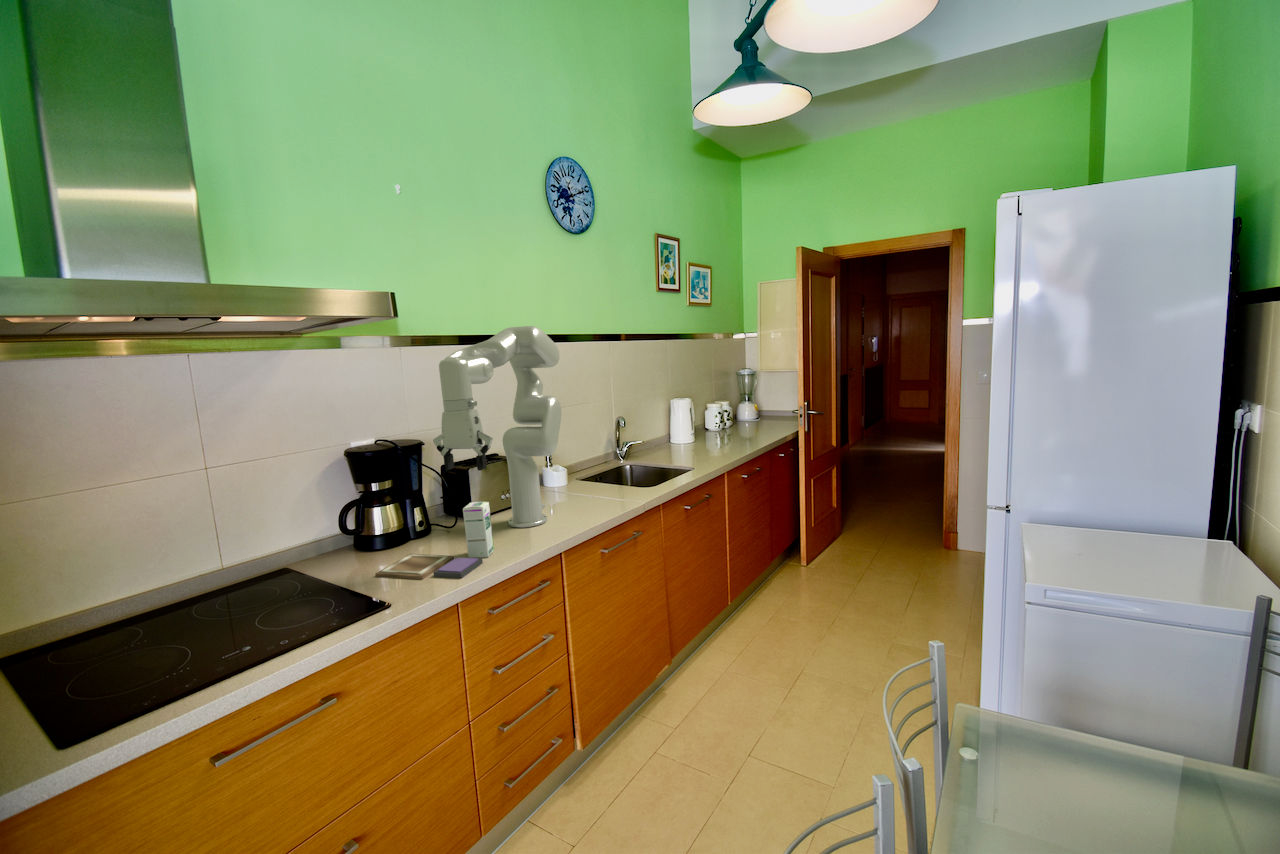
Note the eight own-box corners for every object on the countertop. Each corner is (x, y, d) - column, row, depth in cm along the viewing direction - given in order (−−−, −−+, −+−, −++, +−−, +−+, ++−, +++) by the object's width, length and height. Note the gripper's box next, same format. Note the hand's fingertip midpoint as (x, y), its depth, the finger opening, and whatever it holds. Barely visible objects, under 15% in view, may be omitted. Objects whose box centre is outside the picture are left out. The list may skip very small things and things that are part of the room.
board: (410, 556, 158) (410, 552, 158) (454, 558, 154) (453, 554, 154) (375, 576, 144) (375, 572, 144) (422, 579, 141) (421, 575, 140)
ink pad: (433, 576, 142) (433, 571, 142) (456, 561, 152) (455, 556, 151) (461, 578, 140) (461, 572, 140) (482, 563, 149) (482, 557, 149)
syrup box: (488, 557, 153) (483, 506, 151) (467, 558, 153) (462, 507, 151) (494, 550, 159) (489, 500, 157) (474, 551, 159) (469, 501, 157)
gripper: (495, 403, 148) (501, 466, 151) (438, 405, 153) (445, 466, 155) (480, 407, 141) (487, 472, 144) (421, 408, 146) (429, 472, 148)
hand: (465, 469), depth 150 cm, fingers open, 9 cm apart
